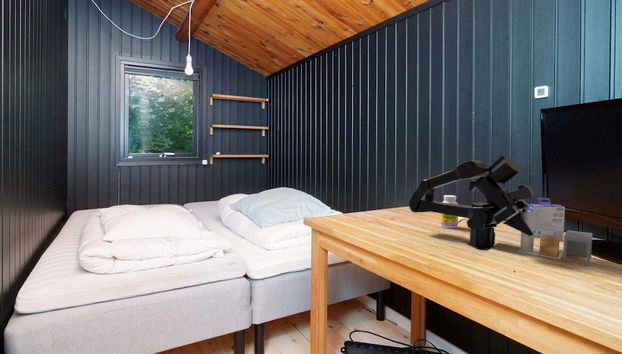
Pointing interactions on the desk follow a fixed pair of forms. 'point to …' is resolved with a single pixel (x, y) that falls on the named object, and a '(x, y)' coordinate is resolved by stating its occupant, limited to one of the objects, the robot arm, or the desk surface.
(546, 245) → the block
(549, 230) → the ink cartridge box
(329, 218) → the desk surface
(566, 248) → the tunnel
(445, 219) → the supplement bottle
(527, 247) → the silver l-shaped stand
